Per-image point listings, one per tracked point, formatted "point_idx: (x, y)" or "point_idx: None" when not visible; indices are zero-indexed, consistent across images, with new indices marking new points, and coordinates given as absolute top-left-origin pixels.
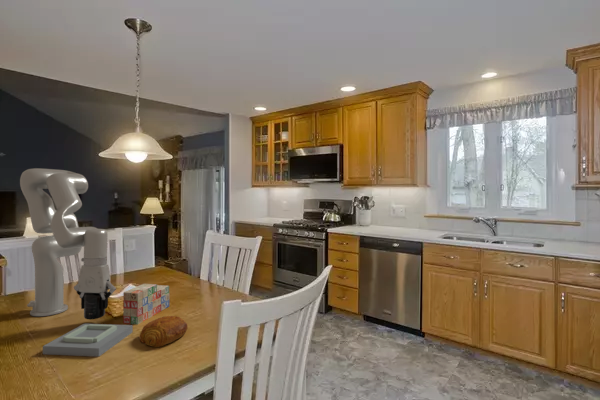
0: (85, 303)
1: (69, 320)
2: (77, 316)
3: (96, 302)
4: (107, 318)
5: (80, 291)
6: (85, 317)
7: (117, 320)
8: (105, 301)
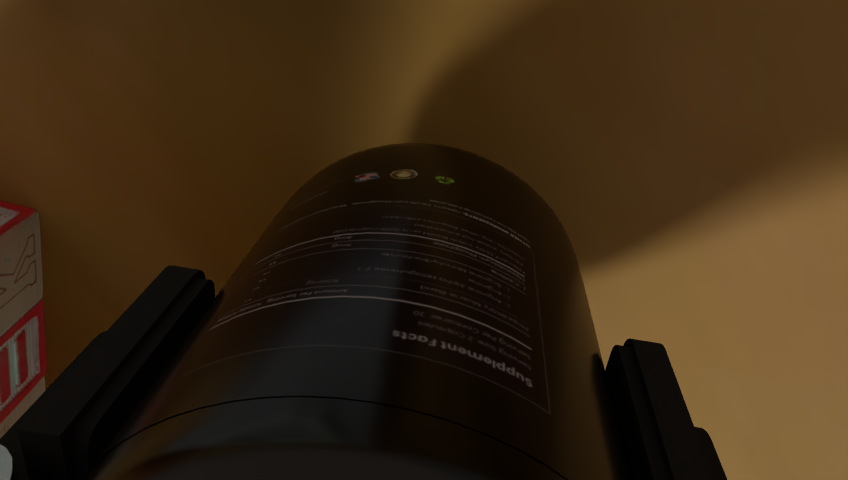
0: (510, 330)
1: (845, 353)
2: (784, 462)
3: (189, 353)
4: None
5: None
6: (505, 172)
7: None
8: (22, 421)
